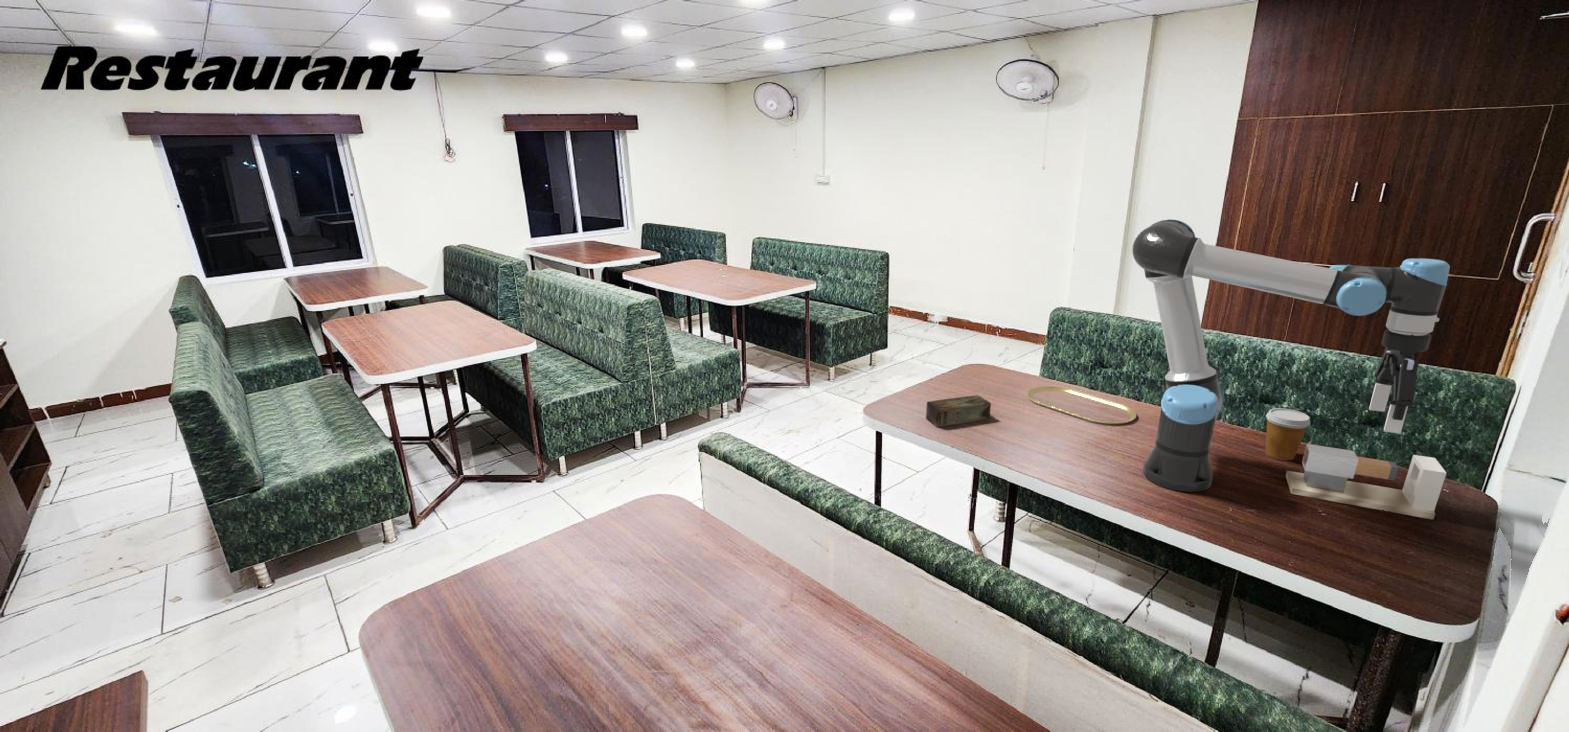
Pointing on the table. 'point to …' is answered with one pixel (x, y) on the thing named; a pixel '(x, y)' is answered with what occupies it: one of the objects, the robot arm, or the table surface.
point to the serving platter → (1086, 396)
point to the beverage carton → (957, 410)
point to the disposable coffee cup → (1285, 432)
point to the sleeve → (1328, 467)
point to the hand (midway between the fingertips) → (1383, 420)
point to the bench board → (1359, 496)
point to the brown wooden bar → (1376, 468)
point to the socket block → (1423, 483)
